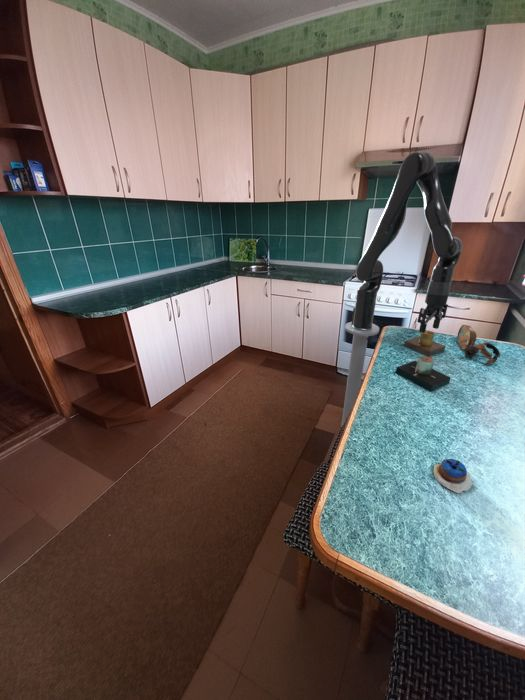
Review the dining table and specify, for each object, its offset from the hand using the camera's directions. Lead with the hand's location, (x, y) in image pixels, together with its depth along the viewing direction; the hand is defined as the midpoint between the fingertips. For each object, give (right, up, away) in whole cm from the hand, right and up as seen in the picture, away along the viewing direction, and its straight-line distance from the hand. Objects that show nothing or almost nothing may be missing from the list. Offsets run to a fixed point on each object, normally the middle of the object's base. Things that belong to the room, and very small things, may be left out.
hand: (428, 330), depth 121 cm
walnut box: (0, -8, +4) cm, 9 cm away
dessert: (-26, -38, -55) cm, 71 cm away
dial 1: (0, -5, +3) cm, 6 cm away
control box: (-12, -18, -17) cm, 28 cm away
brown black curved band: (+16, -12, -6) cm, 21 cm away
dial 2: (-12, -16, -18) cm, 27 cm away
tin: (+18, -7, +6) cm, 20 cm away
